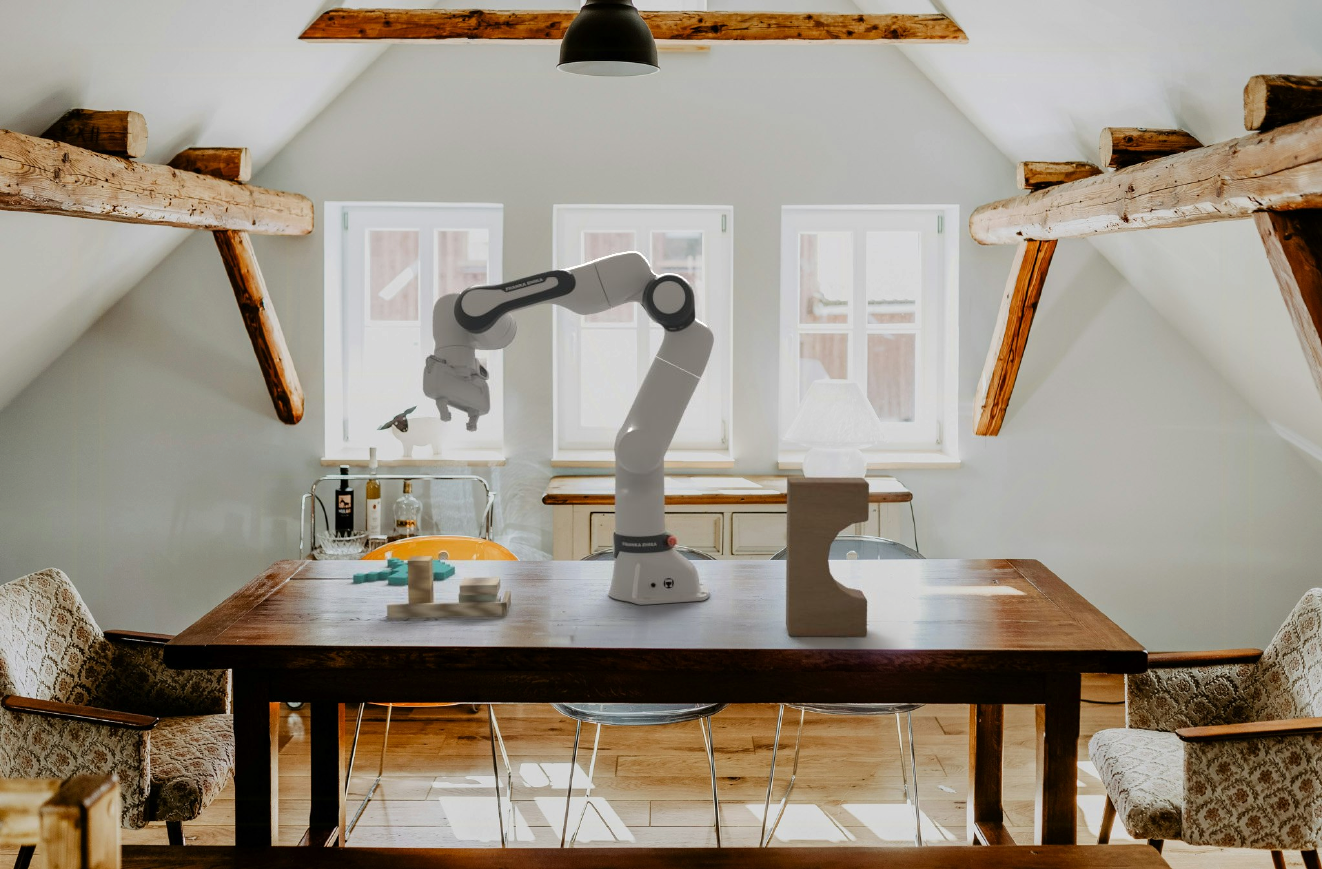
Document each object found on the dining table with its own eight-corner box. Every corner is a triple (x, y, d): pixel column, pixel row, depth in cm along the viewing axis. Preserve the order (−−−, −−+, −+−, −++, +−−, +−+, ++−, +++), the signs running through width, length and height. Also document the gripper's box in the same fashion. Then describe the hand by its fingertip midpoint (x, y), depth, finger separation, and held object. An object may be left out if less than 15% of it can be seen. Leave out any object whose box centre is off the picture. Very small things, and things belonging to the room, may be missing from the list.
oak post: (433, 607, 218) (432, 556, 217) (430, 613, 214) (429, 560, 213) (412, 608, 218) (411, 556, 217) (408, 613, 214) (407, 560, 213)
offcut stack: (500, 605, 221) (500, 577, 220) (497, 613, 214) (497, 584, 213) (462, 605, 220) (462, 577, 220) (458, 614, 213) (457, 585, 213)
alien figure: (353, 584, 247) (432, 588, 243) (353, 575, 247) (432, 578, 243) (391, 566, 266) (465, 569, 262) (391, 557, 266) (465, 560, 262)
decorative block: (861, 626, 208) (863, 477, 205) (867, 637, 200) (869, 482, 197) (785, 626, 208) (786, 477, 206) (788, 636, 201) (789, 482, 198)
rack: (510, 608, 222) (510, 591, 222) (506, 621, 212) (506, 602, 212) (396, 610, 221) (396, 593, 221) (387, 623, 211) (386, 605, 211)
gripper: (438, 348, 217) (442, 410, 213) (493, 374, 235) (497, 432, 232) (413, 355, 220) (417, 417, 216) (469, 381, 238) (473, 438, 234)
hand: (459, 425), depth 224 cm, fingers open, 8 cm apart
